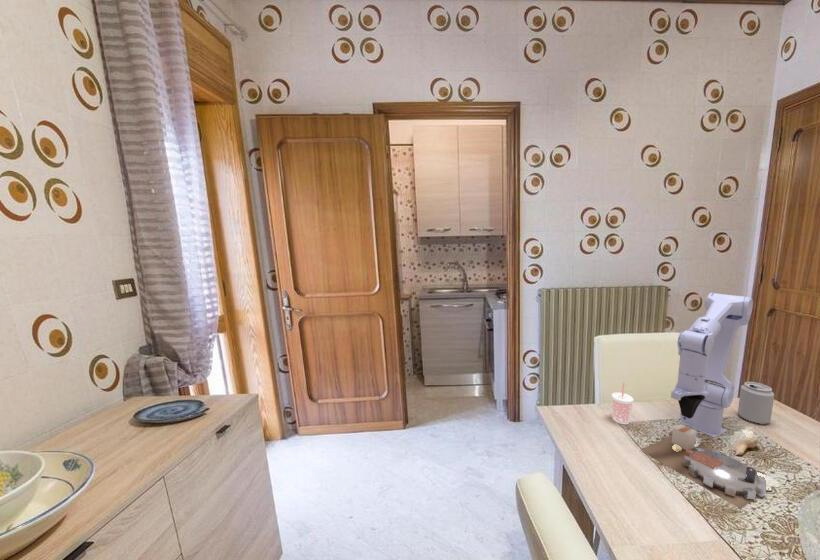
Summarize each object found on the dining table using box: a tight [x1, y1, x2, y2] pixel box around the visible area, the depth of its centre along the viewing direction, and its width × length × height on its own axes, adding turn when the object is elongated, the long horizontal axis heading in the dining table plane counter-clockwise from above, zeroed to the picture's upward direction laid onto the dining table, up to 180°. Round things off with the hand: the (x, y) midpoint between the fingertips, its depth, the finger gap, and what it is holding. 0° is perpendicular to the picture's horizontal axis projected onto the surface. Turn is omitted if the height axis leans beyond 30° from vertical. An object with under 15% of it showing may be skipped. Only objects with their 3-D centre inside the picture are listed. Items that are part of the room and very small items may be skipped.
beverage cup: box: [611, 382, 634, 425], centre depth 107 cm, size 6×6×14 cm
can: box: [737, 381, 775, 425], centre depth 106 cm, size 8×8×12 cm
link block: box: [671, 423, 698, 451], centre depth 94 cm, size 4×4×5 cm
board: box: [640, 435, 768, 510], centre depth 87 cm, size 22×19×1 cm
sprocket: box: [683, 448, 767, 500], centre depth 82 cm, size 15×15×5 cm
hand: (687, 416), depth 93 cm, fingers closed
